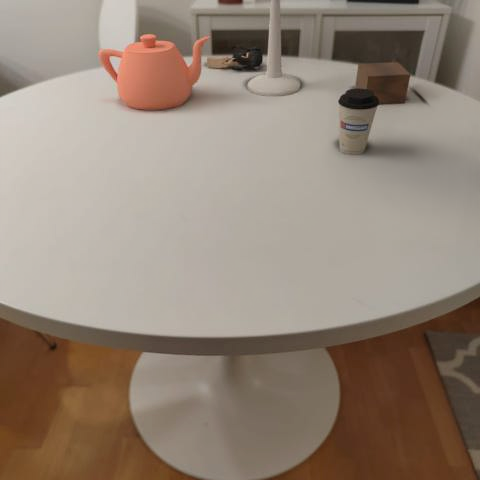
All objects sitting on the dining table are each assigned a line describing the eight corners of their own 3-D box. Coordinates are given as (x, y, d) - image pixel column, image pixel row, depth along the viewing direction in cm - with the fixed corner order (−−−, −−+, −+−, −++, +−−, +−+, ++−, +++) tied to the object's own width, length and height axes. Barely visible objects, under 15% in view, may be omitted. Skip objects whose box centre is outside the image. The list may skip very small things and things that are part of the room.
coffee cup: (340, 138, 88) (346, 84, 81) (376, 144, 85) (385, 89, 78) (327, 153, 83) (333, 96, 76) (364, 160, 80) (374, 102, 74)
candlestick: (258, 76, 117) (257, -72, 97) (306, 81, 113) (316, -72, 94) (239, 93, 108) (235, -66, 89) (291, 98, 105) (298, -67, 85)
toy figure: (206, 74, 120) (263, 70, 119) (203, 48, 117) (262, 43, 116) (209, 70, 126) (263, 65, 125) (206, 44, 123) (262, 40, 122)
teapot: (216, 85, 113) (212, 24, 104) (212, 111, 100) (207, 43, 91) (116, 88, 114) (103, 27, 105) (99, 113, 101) (84, 47, 92)
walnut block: (392, 89, 107) (397, 61, 103) (404, 103, 100) (410, 74, 96) (354, 91, 107) (358, 63, 103) (364, 105, 100) (368, 76, 96)
